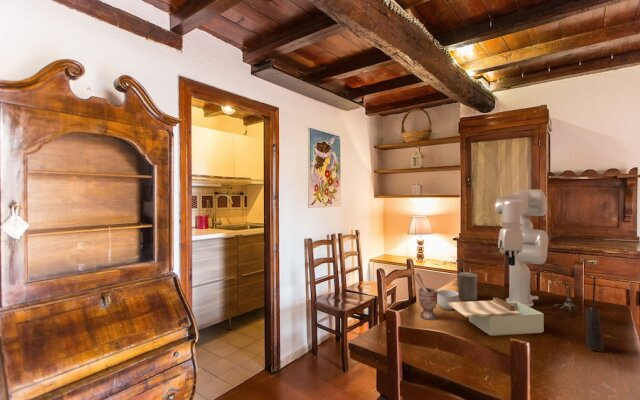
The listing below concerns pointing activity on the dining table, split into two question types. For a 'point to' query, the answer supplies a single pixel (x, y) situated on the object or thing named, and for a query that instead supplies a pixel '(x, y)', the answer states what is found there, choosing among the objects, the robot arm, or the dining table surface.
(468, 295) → the pillar candle
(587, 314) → the butter churn
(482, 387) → the dining table surface
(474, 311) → the lid
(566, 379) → the dining table surface
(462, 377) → the dining table surface
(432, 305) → the mortar and pestle
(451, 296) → the teacup
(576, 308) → the eiffel tower figurine
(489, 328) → the box
